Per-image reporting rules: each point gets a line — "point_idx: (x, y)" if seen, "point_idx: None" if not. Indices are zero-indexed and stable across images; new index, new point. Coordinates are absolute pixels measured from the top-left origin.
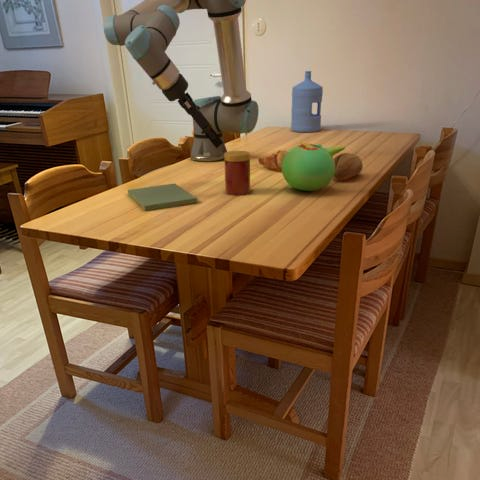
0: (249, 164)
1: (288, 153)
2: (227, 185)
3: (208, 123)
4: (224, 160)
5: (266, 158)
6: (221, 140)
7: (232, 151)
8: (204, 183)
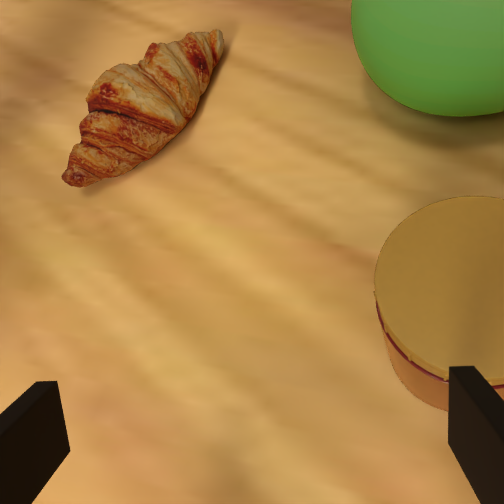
0: None
1: (492, 3)
2: None
3: (31, 415)
4: None
5: (96, 151)
6: (484, 381)
7: (399, 301)
8: (236, 481)
